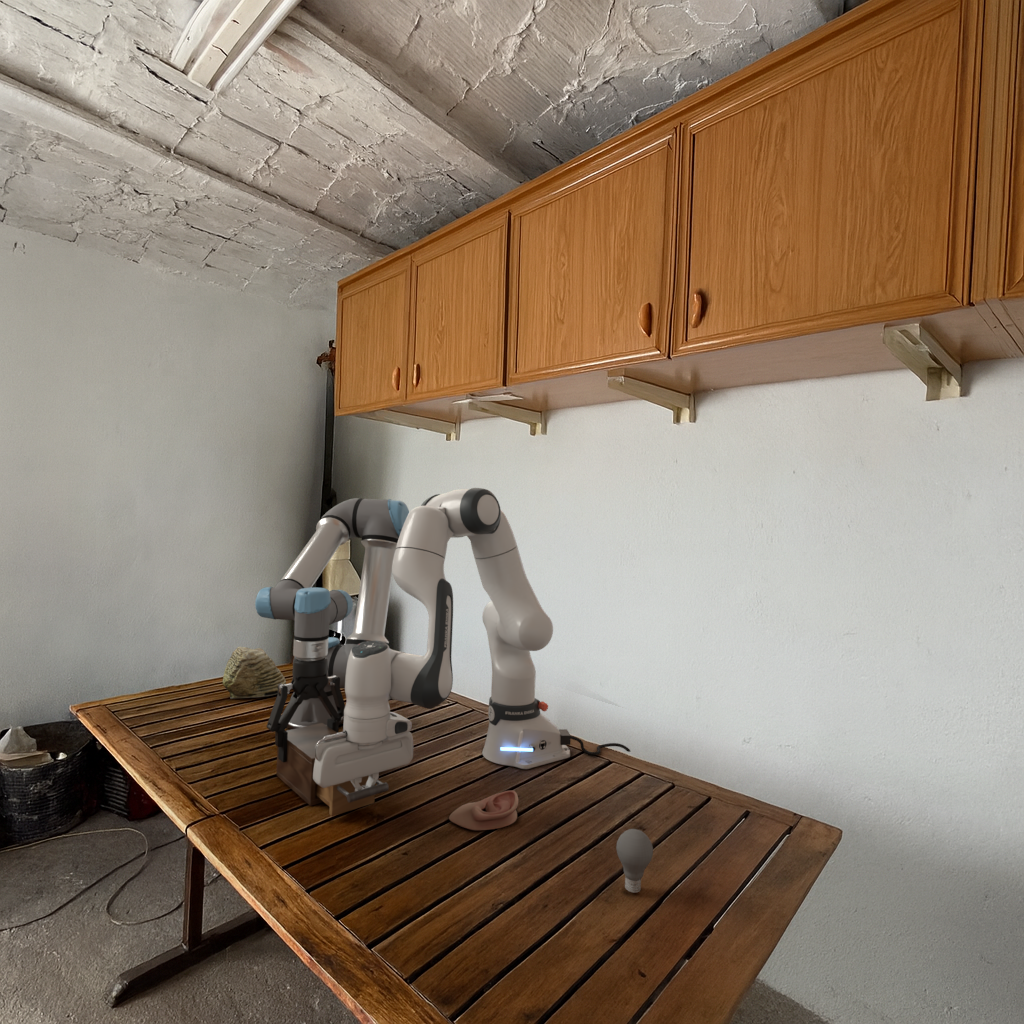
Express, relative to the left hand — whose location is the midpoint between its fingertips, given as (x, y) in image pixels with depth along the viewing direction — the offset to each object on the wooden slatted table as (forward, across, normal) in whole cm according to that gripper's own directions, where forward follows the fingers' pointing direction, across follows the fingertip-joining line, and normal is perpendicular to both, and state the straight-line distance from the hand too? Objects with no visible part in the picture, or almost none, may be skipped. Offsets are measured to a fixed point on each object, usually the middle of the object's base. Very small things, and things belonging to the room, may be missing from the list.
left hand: (307, 754), depth 143 cm
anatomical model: (+5, +20, -39) cm, 44 cm away
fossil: (+5, +11, +63) cm, 64 cm away
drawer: (+4, 0, -17) cm, 17 cm away
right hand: (0, 0, -26) cm, 26 cm away
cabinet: (+5, 0, -5) cm, 7 cm away
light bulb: (+5, +24, -73) cm, 77 cm away
